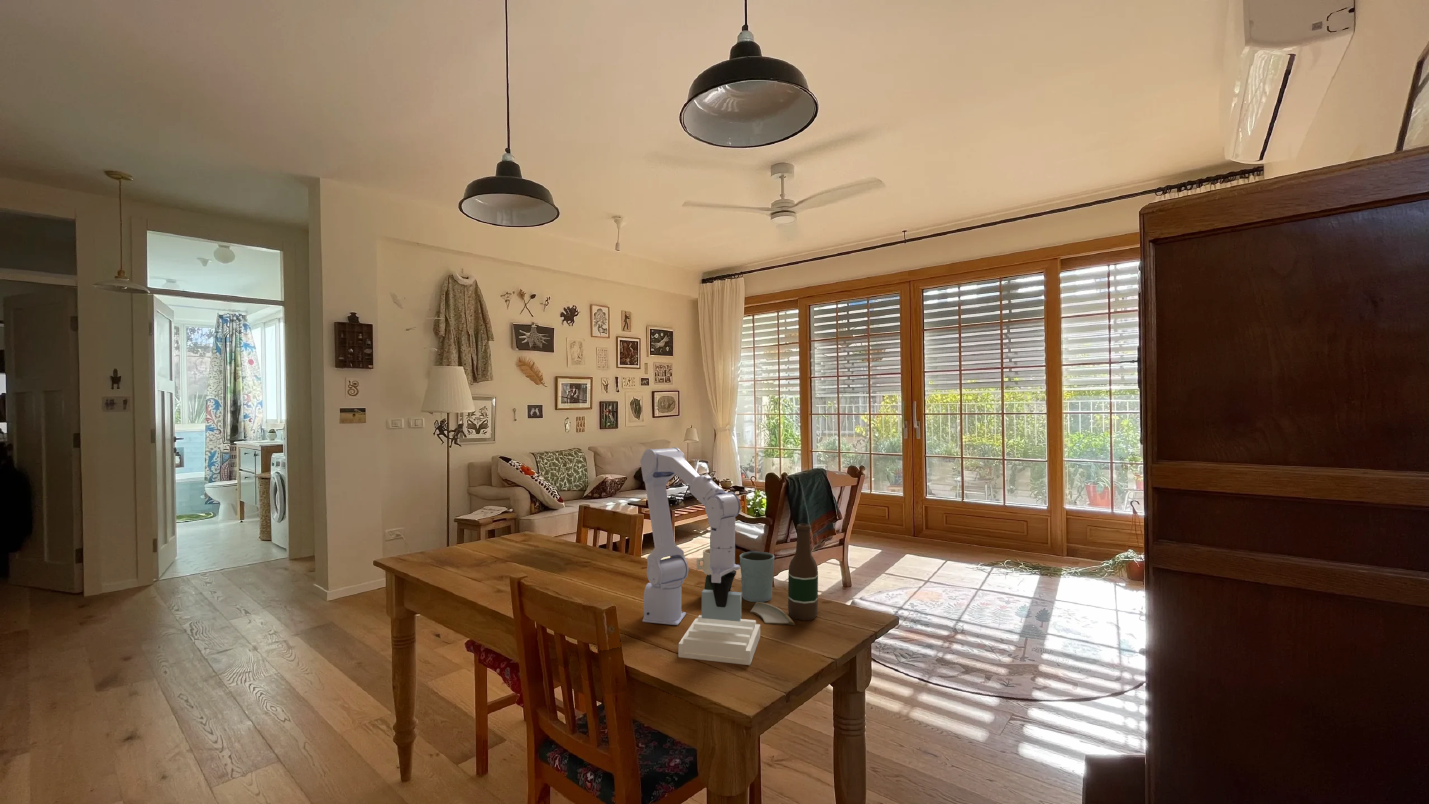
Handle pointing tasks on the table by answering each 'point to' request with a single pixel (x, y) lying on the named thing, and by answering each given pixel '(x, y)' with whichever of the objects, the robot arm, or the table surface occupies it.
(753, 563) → the light blue cup
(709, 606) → the tile
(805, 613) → the beer bottle
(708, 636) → the rack
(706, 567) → the cream and green mug
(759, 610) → the ceramic fragment
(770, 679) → the table surface
